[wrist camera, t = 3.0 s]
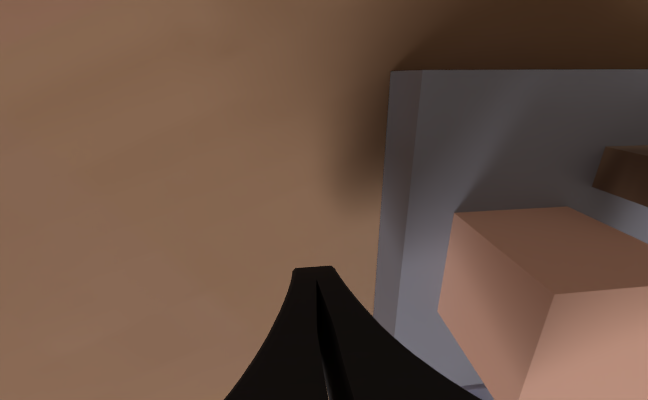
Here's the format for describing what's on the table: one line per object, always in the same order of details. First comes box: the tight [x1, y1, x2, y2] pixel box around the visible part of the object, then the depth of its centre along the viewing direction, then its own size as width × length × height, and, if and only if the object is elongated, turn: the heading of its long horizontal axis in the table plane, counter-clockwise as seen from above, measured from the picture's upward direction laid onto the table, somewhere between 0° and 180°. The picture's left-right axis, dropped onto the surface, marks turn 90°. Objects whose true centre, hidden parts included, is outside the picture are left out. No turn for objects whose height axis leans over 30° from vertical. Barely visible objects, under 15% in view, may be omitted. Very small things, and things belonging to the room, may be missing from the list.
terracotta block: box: [437, 206, 648, 400], centre depth 10 cm, size 4×4×4 cm
